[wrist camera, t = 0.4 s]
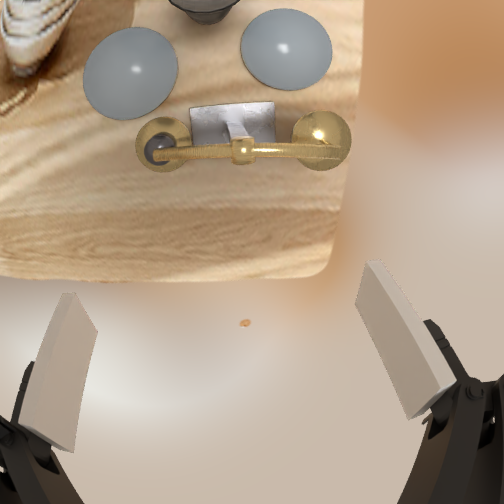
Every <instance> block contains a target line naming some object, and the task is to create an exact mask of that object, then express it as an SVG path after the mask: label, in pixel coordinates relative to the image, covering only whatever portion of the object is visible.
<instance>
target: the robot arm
mask: <svg viewBox="0 0 504 504" xmlns="http://www.w3.org/2000/svg"><path fill="white" fill-rule="evenodd" d="M355 306H356V307H357V309H358V311H359V313H360V316H361V317H362V320H363V322H364V324H365V326H366V328H367V330H368V332H369V334H370V336H371V338H372V340H373V342H374V344H375V346H376V348H377V350H378V352H379V355H380V357H381V359H382V361H383V363H384V365H385V368H386V370H387V372H388V374H389V377H390V379H391V381H392V383H393V386H394V388H395V390H396V393H397V395H398V397H399V400H400V401H401V404H402V407H403V409H404V412H405V414H406V416H407V419H408V420H410V419H413V418H415V417H417V416H420V415H422V414H424V413H425V412H426V411H427V410H428V409H429V408H430V409H431V411H432V413H431V414H429V415H428V416H427V417H426V418H425V419H424V420H423V422H422V424H425V423H426V422H427V421H428V424H427V427H426V431H425V434H424V437H423V440H422V443H421V446H420V449H419V452H418V455H417V458H416V461H415V463H414V466H413V468H412V471H411V473H410V476H409V478H408V481H407V483H406V485H405V488H404V490H403V492H402V494H401V496H400V499H399V501H398V503H397V504H504V374H503V375H502V376H501V377H500V378H499V379H498V380H497V381H490V382H481V381H480V380H478V379H476V378H471V377H469V376H468V374H467V373H466V371H465V369H464V368H463V366H462V364H461V362H460V360H459V359H458V357H457V355H456V353H455V352H454V350H453V349H452V347H451V346H450V343H449V342H448V340H447V339H445V335H444V334H443V332H442V331H441V329H440V327H439V326H438V325H436V324H435V323H434V322H433V321H432V320H431V319H429V320H425V321H422V319H421V318H420V316H419V315H418V313H417V311H416V310H415V308H414V307H413V305H412V304H411V302H410V301H409V299H408V298H407V296H406V295H405V293H404V292H403V290H402V289H401V287H400V286H399V284H398V283H397V282H396V280H395V279H394V277H393V276H392V275H391V273H390V272H389V270H388V269H387V268H386V266H385V265H384V263H383V262H382V260H381V259H377V260H370V261H366V264H365V268H364V272H363V276H362V280H361V284H360V288H359V291H358V295H357V298H356V302H355ZM97 333H98V331H97V330H96V328H95V326H94V325H93V323H92V321H91V320H90V318H89V316H88V315H87V313H86V311H85V310H84V308H83V306H82V304H81V302H80V301H79V299H78V297H77V295H76V293H65V294H62V296H61V298H60V300H59V303H58V305H57V307H56V310H55V312H54V314H53V317H52V319H51V321H50V324H49V326H48V329H47V331H46V333H45V336H44V339H43V341H42V344H41V347H40V349H39V352H38V355H37V358H36V361H35V362H33V361H31V362H30V364H29V365H28V367H27V368H26V370H25V372H24V375H23V378H22V383H21V385H20V388H19V390H20V391H19V392H18V395H17V398H16V402H15V406H14V410H13V414H12V418H11V421H10V422H9V421H7V420H6V419H4V418H3V417H2V416H1V415H0V466H1V467H3V468H4V472H3V473H2V472H0V504H84V503H83V501H82V500H81V498H80V497H79V495H78V493H77V492H76V490H75V489H74V487H73V485H72V484H71V482H70V480H69V479H68V477H67V475H66V473H65V472H64V470H63V468H62V466H61V464H60V463H59V461H58V459H57V457H56V455H55V453H54V452H53V451H52V450H51V446H54V447H56V448H58V449H60V450H63V451H67V452H71V453H74V446H75V438H76V431H77V424H78V418H79V411H80V406H81V401H82V396H83V390H84V386H85V381H86V377H87V372H88V368H89V364H90V360H91V355H92V352H93V348H94V344H95V340H96V336H97ZM493 417H494V418H495V423H494V422H493Z"/></svg>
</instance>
